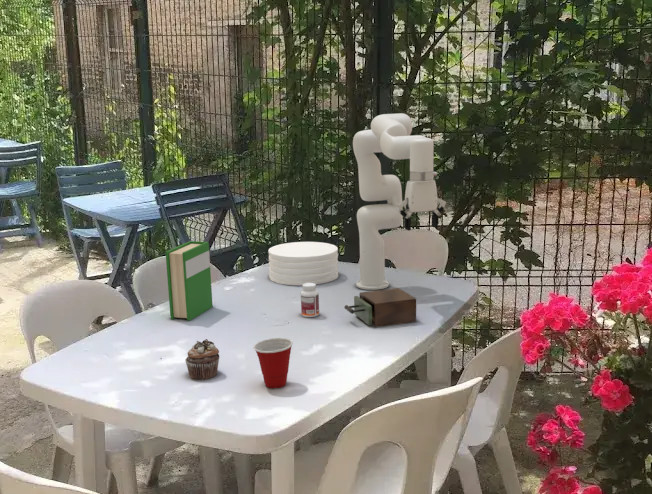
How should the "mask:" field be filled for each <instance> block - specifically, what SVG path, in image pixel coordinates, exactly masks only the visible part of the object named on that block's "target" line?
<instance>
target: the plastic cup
mask: <svg viewBox="0 0 652 494" xmlns="http://www.w3.org/2000/svg"><path fill="white" fill-rule="evenodd" d="M293 344H294V341H293V340H292V339H290V338H288V337H287V338H286V337H271V338H267V339H263V340H261V341H258V342H256V343H255V344H254V345H253V347H252V348H253V349H254V351H255V353H256V356H257V358H258V362H259V365H260V370H261V374H262V378H263V382H264V385H265V387H267V388H269V389H279V388H283V387H285V386H286V384H287V382H288V375H289V374H288V373H289V368H290V367H289V366H290V359H291V353H292V347H293Z"/></svg>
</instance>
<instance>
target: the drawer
mask: <svg viewBox="0 0 652 494" xmlns="http://www.w3.org/2000/svg"><path fill="white" fill-rule="evenodd" d="M343 308H344V309H345V310H346V311H347V312H349V313H350V315H351V314H352V315H353V314H354V315H355V316H356V317H358V318H359V319H360V320H362V322H364V323H366V324H367V325H368V326H370V325H371V326H372V321H374V322H375V305H374V304H372V303H371V302H369V301H368V300H366V299H365V298H363V297H362V299H361V298H360V297H359V296H358V295H354V296H353V305H347V304H345V305H344V307H343Z"/></svg>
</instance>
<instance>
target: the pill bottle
mask: <svg viewBox="0 0 652 494" xmlns="http://www.w3.org/2000/svg"><path fill="white" fill-rule="evenodd" d="M319 295H320V294H319V290H318V289H317V284H315V283H305V284H303V285H302V290H301V291H300V308H301V309H300V310H301V311H300V312H301V316H302V317H304V318H315V317H317V316H319V314H320V297H319Z"/></svg>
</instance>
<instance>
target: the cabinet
mask: <svg viewBox="0 0 652 494" xmlns="http://www.w3.org/2000/svg"><path fill="white" fill-rule="evenodd" d="M358 293H359V294H358V295H359V296H358V297H359V298H361V299H362V297H363V298H365V299H366V300H368V301H369V302H371V303H372V304H374V305H375V322H374V321H372V324H371V326H374V328H379V327H380V328H381V327H387V326H396V325H403V324H411V323H416V322H417V298H416V297H414V296H413V295H411V294H409V293H408V292H406V291H404V290H402V289H401V288H399V287H396V288H395V287H394V288H388V289H387V288H385V289H379V290H368V291H362V292H358Z"/></svg>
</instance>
